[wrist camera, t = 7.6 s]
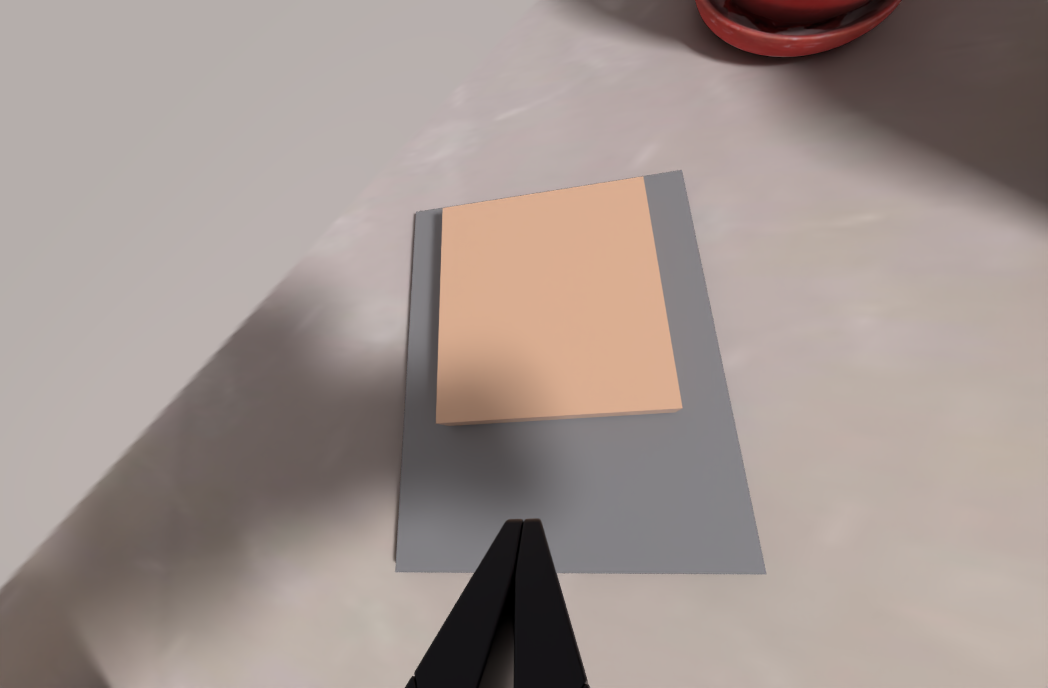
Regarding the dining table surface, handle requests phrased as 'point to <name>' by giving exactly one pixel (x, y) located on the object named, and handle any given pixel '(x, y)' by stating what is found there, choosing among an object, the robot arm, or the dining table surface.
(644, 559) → the mat
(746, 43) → the plant pot
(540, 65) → the dining table surface
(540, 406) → the tile
